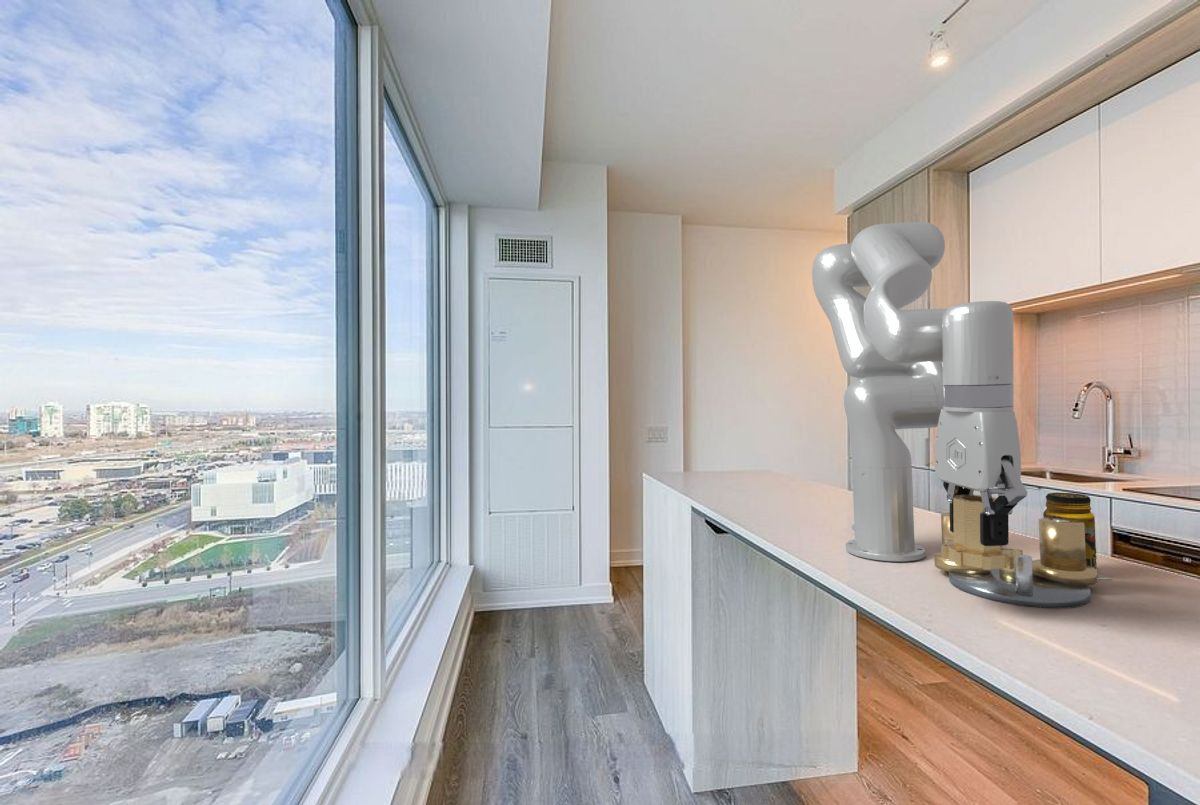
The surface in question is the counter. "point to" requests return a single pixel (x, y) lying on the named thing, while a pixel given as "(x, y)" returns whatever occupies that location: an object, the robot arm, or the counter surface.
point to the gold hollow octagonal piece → (973, 538)
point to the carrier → (1031, 569)
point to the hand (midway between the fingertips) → (977, 536)
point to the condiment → (1075, 510)
